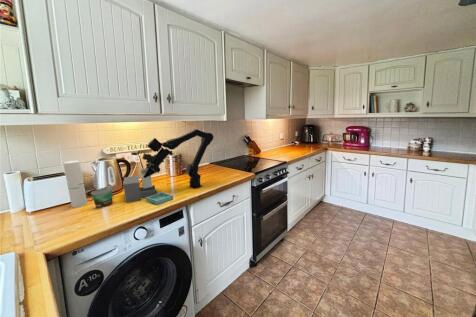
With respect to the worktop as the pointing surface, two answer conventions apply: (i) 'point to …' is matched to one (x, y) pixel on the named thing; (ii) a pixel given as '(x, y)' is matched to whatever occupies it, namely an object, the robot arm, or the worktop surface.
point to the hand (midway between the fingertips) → (143, 176)
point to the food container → (103, 196)
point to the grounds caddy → (146, 179)
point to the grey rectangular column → (75, 183)
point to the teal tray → (159, 198)
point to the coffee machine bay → (136, 190)
